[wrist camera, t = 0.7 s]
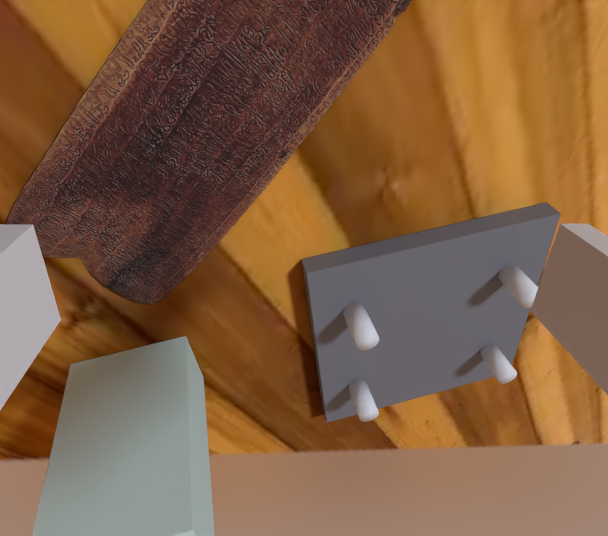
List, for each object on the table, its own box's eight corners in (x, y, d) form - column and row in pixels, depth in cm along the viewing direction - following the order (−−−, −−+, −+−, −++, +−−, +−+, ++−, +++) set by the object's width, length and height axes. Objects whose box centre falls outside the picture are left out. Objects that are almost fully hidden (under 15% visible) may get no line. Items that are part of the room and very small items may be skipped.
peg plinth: (301, 259, 29) (318, 304, 26) (546, 202, 31) (592, 237, 28) (322, 408, 41) (336, 453, 38) (500, 360, 43) (528, 398, 40)
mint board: (70, 364, 31) (22, 579, 21) (185, 336, 31) (192, 529, 22) (99, 404, 34) (70, 607, 24) (203, 377, 35) (216, 563, 25)
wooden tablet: (346, -314, 14) (504, -49, 19) (333, -282, 16) (480, -48, 21) (-18, 242, 23) (152, 328, 28) (0, 222, 25) (156, 306, 29)
